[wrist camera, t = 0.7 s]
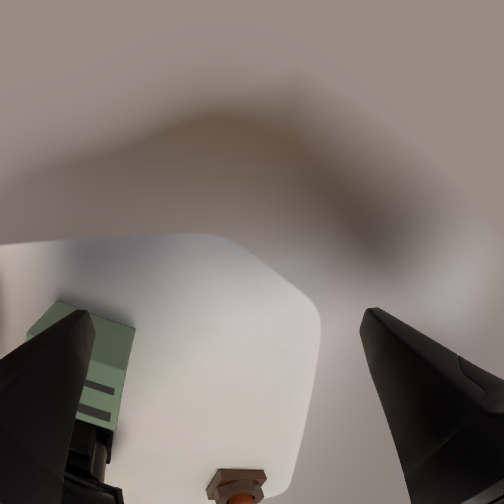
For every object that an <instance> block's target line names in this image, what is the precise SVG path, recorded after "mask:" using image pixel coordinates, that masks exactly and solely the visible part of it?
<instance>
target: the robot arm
mask: <svg viewBox="0 0 504 504" xmlns="http://www.w3.org/2000/svg"><path fill="white" fill-rule="evenodd" d="M95 336H96V331H95V327H94V325H93V322H92V319H91V316H90V314H89V312H88V311H87V310H80V309H77V310H75V311H73V312H72V313H70V314H68V315H67V316H65V317H64V318H62V319H61V320H59V321H57V322H56V323H54V324H53V325H51V326H50V327H48V328H46V329H45V330H43V331H42V332H40V333H39V334H37V335H36V336H34V337H33V338H31V339H30V340H28V341H27V342H25V343H24V344H22V345H21V346H19V347H18V348H16V349H15V350H13V351H12V352H10V353H9V354H8V355H6V356H5V357H3V359H0V504H124V501H123V495H122V489H120V488H117V487H116V488H115V487H112V486H110V485H107V484H104V477H105V467H106V464H110V459H111V449H112V440H113V432H112V431H111V430H109V429H105V428H102V427H99V426H96V425H92V424H89V423H87V422H84V421H81V420H78V419H75V418H76V414H77V410H78V406H79V402H80V398H81V395H82V391H83V388H84V384H85V381H86V377H87V373H88V369H89V364H90V359H91V354H92V350H93V345H94V341H95ZM360 336H361V340H362V344H363V348H364V351H365V355H366V359H367V363H368V367H369V370H370V373H371V376H372V379H373V381H374V384H375V387H376V390H377V393H378V395H379V398H380V401H381V404H382V407H383V410H384V412H385V415H386V418H387V421H388V424H389V428H390V430H391V434H392V437H393V440H394V443H395V446H396V450H397V452H398V456H399V460H400V463H401V466H402V470H403V473H404V477H405V481H406V485H407V489H408V493H409V496H410V500H411V504H504V380H503V379H501V378H498V377H496V376H495V375H493V374H491V373H489V372H487V371H485V370H483V369H481V368H479V367H477V366H476V365H474V364H472V363H471V362H469V361H467V360H465V359H464V358H462V357H461V356H457V354H456V353H454V352H452V351H451V350H449V349H447V348H446V347H444V346H442V345H441V344H439V343H437V342H435V341H434V340H432V339H431V338H429V337H427V336H426V335H424V334H422V333H420V332H419V331H417V330H416V329H414V328H412V327H411V326H409V325H407V324H406V323H404V322H402V321H400V320H399V319H397V318H395V317H394V316H392V315H390V314H389V313H387V312H385V311H383V310H382V309H380V308H377V307H376V308H368V309H366V311H365V313H364V316H363V320H362V323H361V326H360Z"/></svg>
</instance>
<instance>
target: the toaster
mask: <svg viewBox="0 0 504 504" xmlns="http://www.w3.org/2000/svg"><path fill="white" fill-rule="evenodd" d="M75 310H77V308H75V307H72V306H70V305H67V304H65V303H62V302H60V301H57V302H56V303H55V304H54V305H53V306H52V307H51V308H50V309H49V310H48V311H47V312H46V313H45V314H44V315H43V316H42V317H41V318H40V319H39V320H38V321H37V322H36V323H35V324H34V325H33V326H32V327H31V328H30V329H29V330H28V332H27V341H28V340H30V339H31V338H33V337H34V336H36V335H37V334H39V333H40V332H42V331H43V330H45V329H46V328H48V327H50V326H51V325H53V324H54V323H56V322H57V321H59V320H61V319H62V318H64V317H65V316H67V315H68V314H70V313H72V312H73V311H75ZM89 314H90V313H89ZM90 316H91V319H92V322H93V325H94V327H95V331H96V336H95V341H94V345H93V350H92V354H91V359H90V364H89V369H88V373H87V377H86V381H85V384H84V388H83V391H82V395H81V398H80V402H79V406H78V410H77V414H76V418H77V419H80V420H83V421H86V422H89V423H92V424H95V425H98V426H101V427H104V428H108V429H111V430H114V431H115V430H116V426H117V420H118V413H119V407H120V401H121V396H122V390H123V385H124V380H125V375H126V370H127V365H128V360H129V356H130V351H131V347H132V343H133V338H134V334H135V329H134V328H131V327H128V326H125V325H122V324H119V323H116V322H113V321H110V320H107V319H104V318H101V317H99V316H96V315H93V314H90Z"/></svg>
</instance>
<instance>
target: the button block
mask: <svg viewBox="0 0 504 504" xmlns="http://www.w3.org/2000/svg"><path fill="white" fill-rule="evenodd" d="M266 480H267V478H266V475H265V473H264V471H263V470H222V469H219V470H218V472H217V474H216V475H215V477H214V479H213V480H212V482H211V484H210V485H209V487H208V489H207V490H206V492H207V496H208V499H209V500H215V502H216V504H229V503H228V500H229V499H230V498H232V497H235V496H239V495H251V496H252V498H253V501H254V503H255V504H257V503H259V502H260V501H261V500H262V499H263V498H264V494H263V491H262V489H261V486H262V485H263V484H264V482H265V481H266Z"/></svg>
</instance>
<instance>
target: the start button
mask: <svg viewBox="0 0 504 504" xmlns="http://www.w3.org/2000/svg"><path fill="white" fill-rule="evenodd" d="M228 503H229V504H255V503H254V501H253V498H252V496H251V495H239V496H235V497H232V498H230V499H229V500H228Z"/></svg>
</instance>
